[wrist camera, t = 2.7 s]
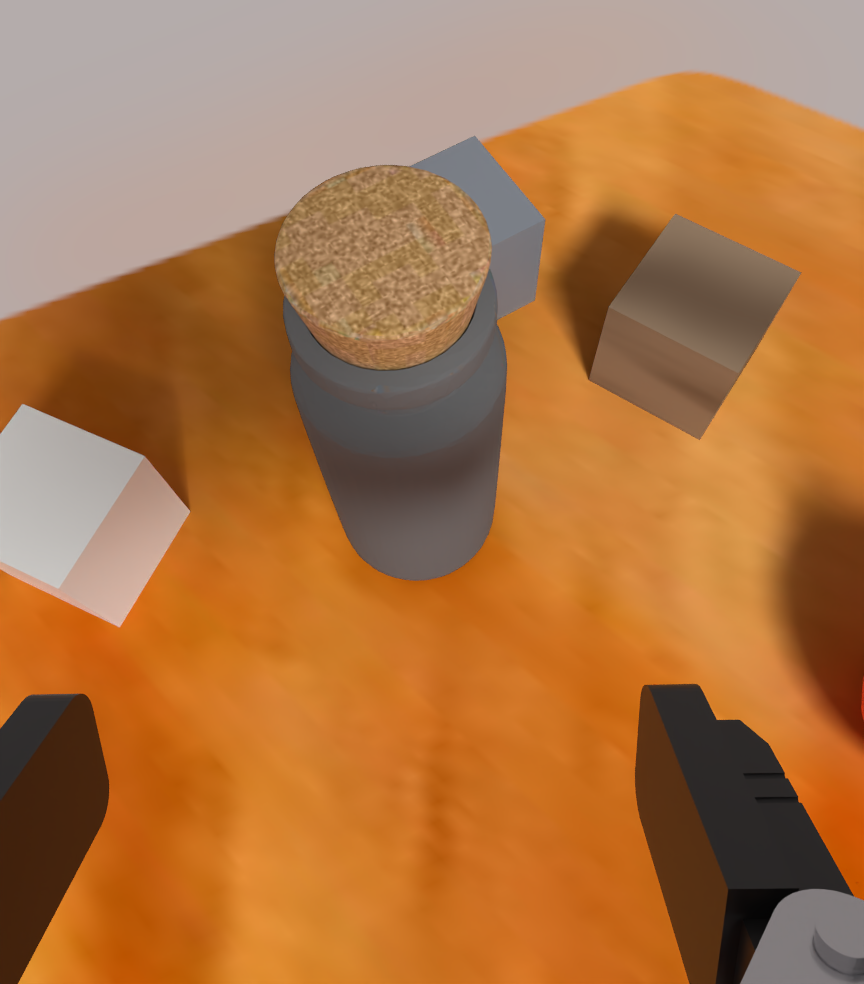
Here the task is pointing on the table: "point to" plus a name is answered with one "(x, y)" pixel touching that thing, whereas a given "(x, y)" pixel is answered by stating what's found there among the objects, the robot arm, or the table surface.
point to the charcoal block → (497, 219)
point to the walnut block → (688, 324)
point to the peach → (863, 706)
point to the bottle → (397, 362)
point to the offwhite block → (81, 514)
